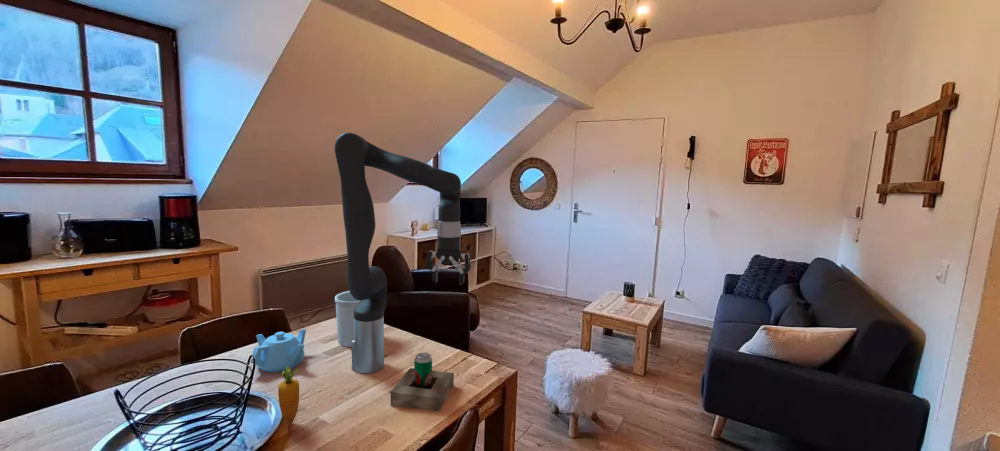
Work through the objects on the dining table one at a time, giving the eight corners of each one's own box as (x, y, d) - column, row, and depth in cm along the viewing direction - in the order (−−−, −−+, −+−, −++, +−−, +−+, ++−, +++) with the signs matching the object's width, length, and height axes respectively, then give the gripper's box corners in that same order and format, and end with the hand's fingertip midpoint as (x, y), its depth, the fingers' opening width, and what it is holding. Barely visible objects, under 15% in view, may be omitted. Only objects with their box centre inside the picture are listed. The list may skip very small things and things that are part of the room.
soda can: (427, 401, 114) (428, 360, 112) (411, 398, 115) (411, 358, 114) (434, 391, 119) (434, 353, 117) (418, 389, 120) (418, 351, 118)
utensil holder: (345, 351, 143) (344, 304, 141) (329, 338, 154) (328, 294, 152) (383, 341, 153) (383, 296, 151) (366, 329, 164) (366, 287, 162)
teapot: (257, 357, 137) (256, 327, 136) (306, 350, 143) (305, 321, 142) (250, 378, 123) (248, 345, 122) (304, 370, 129) (303, 338, 128)
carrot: (284, 418, 104) (282, 363, 102) (304, 417, 105) (302, 363, 103) (275, 430, 99) (272, 373, 97) (296, 430, 100) (294, 372, 98)
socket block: (390, 405, 111) (390, 391, 111) (409, 380, 125) (409, 368, 124) (439, 411, 109) (439, 398, 109) (453, 385, 123) (453, 373, 122)
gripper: (424, 235, 128) (423, 284, 130) (467, 237, 126) (466, 288, 128) (431, 231, 136) (431, 278, 138) (473, 234, 133) (471, 281, 135)
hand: (448, 283), depth 133 cm, fingers open, 8 cm apart
